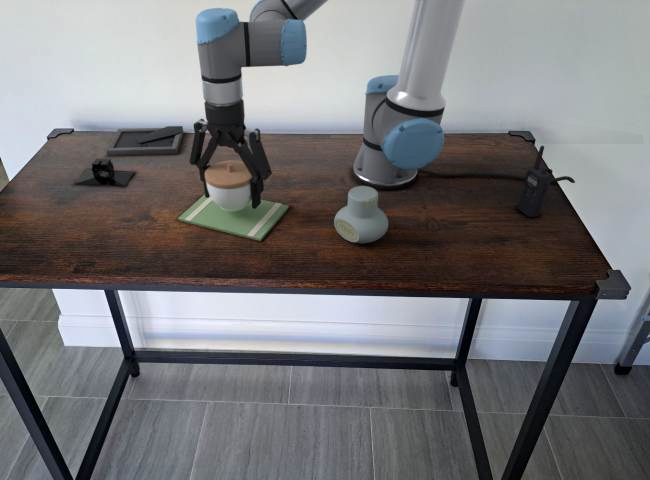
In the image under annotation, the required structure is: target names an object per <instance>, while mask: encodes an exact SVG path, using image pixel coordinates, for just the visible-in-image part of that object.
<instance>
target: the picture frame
mask: <svg viewBox="0 0 650 480" xmlns="http://www.w3.org/2000/svg"><path fill="white" fill-rule="evenodd" d="M183 136H184V127H183V125H167V126H165V127H144V128H143V127H142V128H139V127H138V128H117V130H116V132H115V134H114V136H113V137H112V139H111V141H110V143H109V145H108V147H107V149H106V153H107V157H119V156H121V157H122V156H124V157H125V156H157V155H158V156H161V155H162V156H166V155H167V156H168V155H177V154H178V152H179V149H180V146H181V143H182V140H183Z"/></svg>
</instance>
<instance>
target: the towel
mask: <svg viewBox="0 0 650 480" xmlns="http://www.w3.org/2000/svg"><path fill="white" fill-rule="evenodd" d="M289 208H290V206H289V205H287V204H283V203H281V202H280V203H279V202H274V201H269V200H265V199H261V203H260V205H259V206H258V207H257V208H256V209H253V208H252V200H251V201H250V202H249V203H248V204H247V206H246V207H245V208H244V209H242V210H239V211H225V210H223V209H221V208H220V207H219V206H218V205H217V204H215V203H214V202H213V200H212V199H211V197H209V198H206V197H205V193H204V194H203V195H202V196H201V197H200V198H199V199H197V201H195V202H194V203H193V204H192V205H191V206H190V207H189V208H188V209H187V210H185V211H184V212H183V213H182V214H181V215H180V216H178V218H177V220H178V221H179V222H183V223H187V224H191V225H195V226H199V227H203V228H207V229H211V230H215V231H219V232H222V233H226V234H227V233H228V234H231V235H235V236H239V237H242V238H247V239H251V240H255V241H258V242H261V241H262V240H263V239H264V238H265V237H266V236H267V234H269V232H270V231H271V230H272V229H273V227H274V226H275V225H276V224H277V223H278V221H280V219H281V218H282V217H283V215H285V214H286V212H287V211H288V210H289Z"/></svg>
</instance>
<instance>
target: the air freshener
mask: <svg viewBox="0 0 650 480" xmlns="http://www.w3.org/2000/svg"><path fill="white" fill-rule="evenodd" d="M378 203H379V192H378V191H377V190H376V188H372V187H369V186H366V185H358V186H354V187H352V188H351V189H349V191H348V194H347V204H346V205H345V206H344V207H342V208H340V209H339V210H338V212H336V214H335V217H334V220H333V225H334V227H335V230H336V232H337V233H338V234H339V235H340V236H341V237H342V238H343V239H344V240H346V241H348V242H350V243H354V244H370V243H373V242H376V241H377V240H380V239H381V238H383V236H384V235H385V234H386V233H387V231H388V228H389V219H388V217H387V215H386V214H385V212H384V211H383V210H382V209H381V208H380V207H379V206H378V205H379V204H378Z"/></svg>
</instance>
